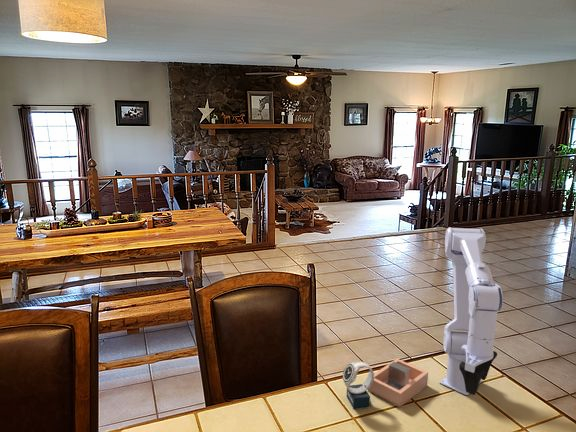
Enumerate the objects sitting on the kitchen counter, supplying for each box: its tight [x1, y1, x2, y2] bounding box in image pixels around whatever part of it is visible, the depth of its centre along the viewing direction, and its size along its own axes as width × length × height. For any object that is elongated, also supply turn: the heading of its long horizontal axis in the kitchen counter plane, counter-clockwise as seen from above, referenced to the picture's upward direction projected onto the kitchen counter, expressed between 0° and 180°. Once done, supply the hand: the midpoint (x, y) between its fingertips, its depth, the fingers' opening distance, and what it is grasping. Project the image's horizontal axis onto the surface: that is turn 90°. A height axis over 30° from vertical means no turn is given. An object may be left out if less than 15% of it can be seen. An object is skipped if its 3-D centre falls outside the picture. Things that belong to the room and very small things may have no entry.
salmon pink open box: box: [367, 358, 429, 408], centre depth 123 cm, size 14×10×4 cm
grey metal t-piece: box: [385, 362, 410, 390], centre depth 123 cm, size 5×5×6 cm
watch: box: [342, 361, 375, 410], centre depth 116 cm, size 6×8×11 cm
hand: (475, 385), depth 109 cm, fingers open, 7 cm apart
